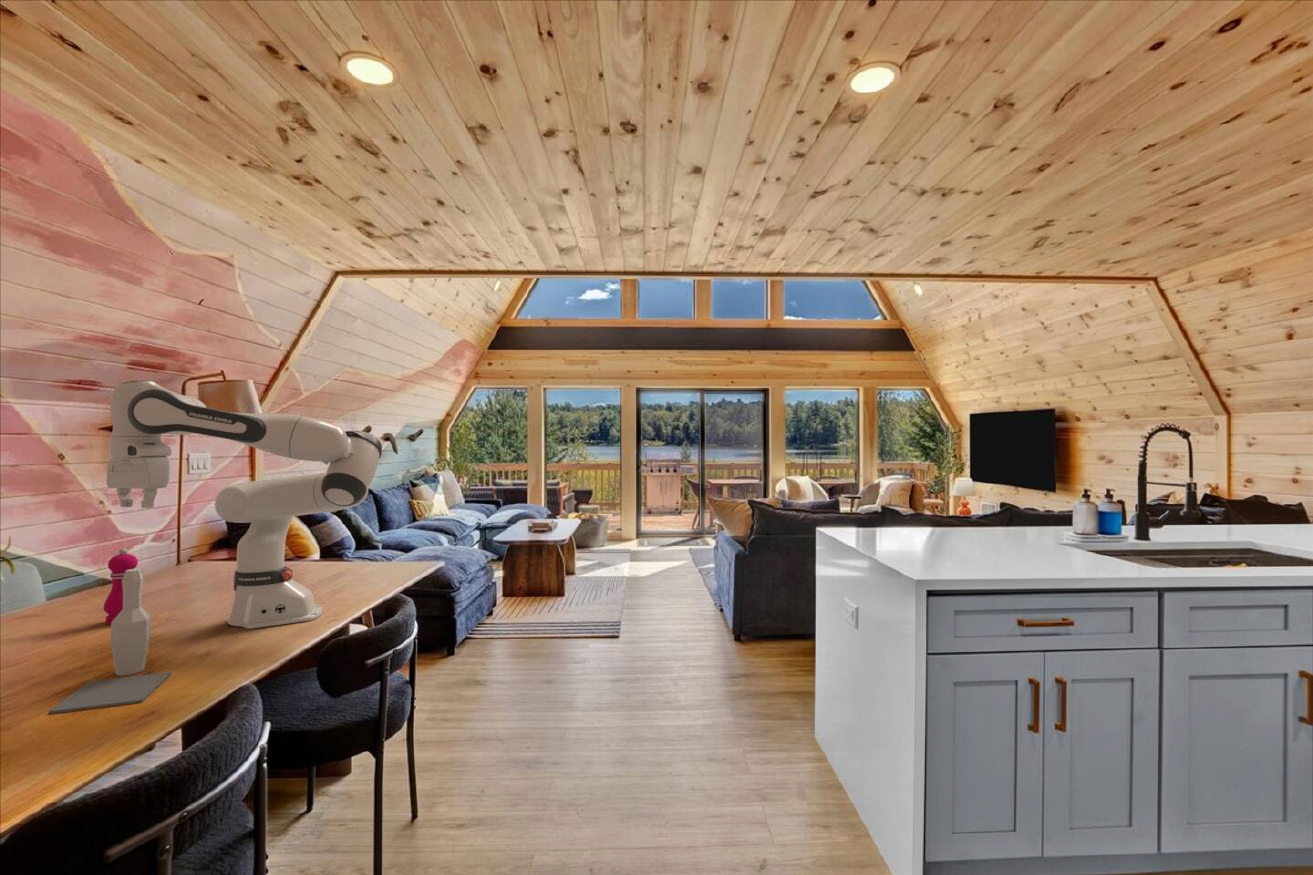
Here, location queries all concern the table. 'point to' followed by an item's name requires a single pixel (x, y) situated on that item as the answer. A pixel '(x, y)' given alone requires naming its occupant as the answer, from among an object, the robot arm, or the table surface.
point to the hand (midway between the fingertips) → (136, 507)
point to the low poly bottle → (130, 628)
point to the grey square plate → (111, 692)
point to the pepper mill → (118, 582)
